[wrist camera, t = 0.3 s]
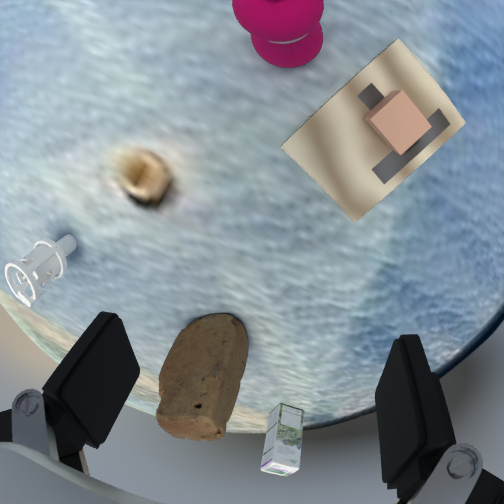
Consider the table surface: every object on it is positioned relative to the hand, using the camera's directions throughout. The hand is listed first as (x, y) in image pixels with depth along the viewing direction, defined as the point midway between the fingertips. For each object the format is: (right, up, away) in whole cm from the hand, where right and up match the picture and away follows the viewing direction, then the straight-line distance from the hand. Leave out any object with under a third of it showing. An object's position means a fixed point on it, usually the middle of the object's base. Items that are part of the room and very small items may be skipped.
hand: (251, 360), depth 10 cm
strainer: (-31, +5, +38) cm, 49 cm away
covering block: (+16, +19, +21) cm, 32 cm away
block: (-6, -9, +41) cm, 42 cm away
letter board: (+15, +18, +22) cm, 32 cm away
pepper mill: (+4, +27, +19) cm, 34 cm away
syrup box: (+7, -30, +50) cm, 58 cm away
